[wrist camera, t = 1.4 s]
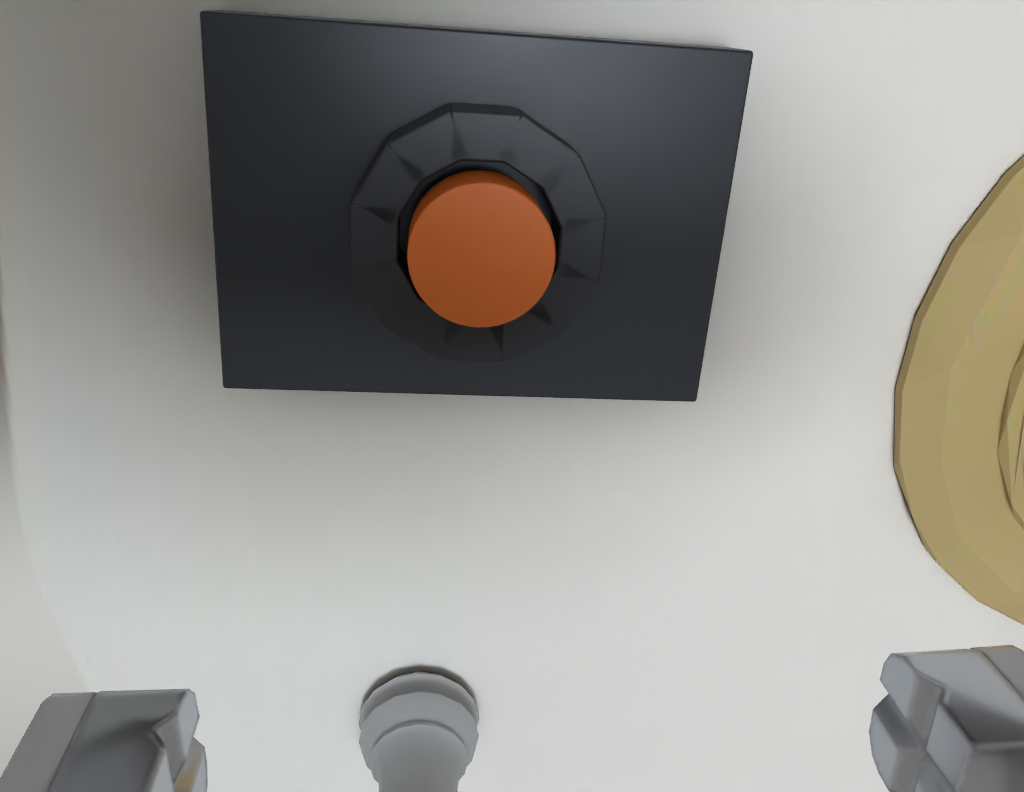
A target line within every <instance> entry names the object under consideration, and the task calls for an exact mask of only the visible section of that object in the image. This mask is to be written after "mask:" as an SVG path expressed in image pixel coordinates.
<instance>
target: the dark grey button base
mask: <svg viewBox="0 0 1024 792" xmlns="http://www.w3.org/2000/svg"><path fill="white" fill-rule="evenodd" d="M200 23H201V39H202V55H203V71H204V87H205V103H206V119H207V135H208V151H209V167H210V183H211V199H212V215H213V231H214V247H215V263H216V279H217V295H218V311H219V327H220V343H221V359H222V375H223V386H224V388H243V389H277V390H312V391H346V392H381V393H415V394H450V395H484V396H519V397H553V398H588V399H622V400H657V401H691V402H694V401H696V398H697V392H698V386H699V380H700V374H701V368H702V362H703V356H704V350H705V344H706V338H707V332H708V325H709V319H710V313H711V307H712V301H713V295H714V289H715V283H716V277H717V271H718V265H719V259H720V252H721V246H722V240H723V234H724V228H725V222H726V216H727V210H728V204H729V198H730V192H731V186H732V179H733V173H734V167H735V161H736V155H737V149H738V143H739V137H740V131H741V125H742V119H743V113H744V106H745V100H746V94H747V88H748V82H749V76H750V70H751V64H752V58H753V52H752V51H750V50H742V49H735V48H728V47H715V46H701V45H688V44H674V43H661V42H647V41H633V40H620V39H606V38H592V37H579V36H565V35H552V34H538V33H524V32H511V31H497V30H483V29H470V28H456V27H443V26H429V25H415V24H402V23H388V22H375V21H361V20H347V19H334V18H320V17H306V16H293V15H279V14H266V13H252V12H238V11H225V10H206V11H201V12H200ZM471 170H485V171H492V172H496V173H500V174H503V175H505V176H508V177H510V178H511V179H513V180H515V181H517V182H518V183H519V184H521V185H522V186H523V187H525V188H526V190H527V191H528V192H529V193H530V194H531V195H532V196H533V197H534V199H535V200H536V201H537V203H538V205H539V207H540V209H541V210H542V212H543V214H544V216H545V217H546V219H547V221H548V223H549V225H550V228H551V230H552V233H553V237H554V241H555V250H556V257H555V266H554V271H553V275H552V278H551V280H550V283H549V285H548V287H547V289H546V291H545V292H544V294H543V295H542V297H541V298H540V299H539V300H538V302H537V303H536V304H535V305H534V306H533V307H532V308H531V309H530V310H528V311H527V312H526V313H524V314H523V315H521V316H520V317H518V318H516V319H514V320H512V321H510V322H507V323H505V324H501V325H498V326H492V327H469V326H464V325H460V324H457V323H454V322H452V321H449V320H447V319H445V318H444V317H442V316H440V315H439V314H437V313H436V312H435V311H433V310H432V309H431V308H430V307H429V306H428V305H427V304H426V303H425V302H424V301H423V299H422V298H421V297H420V295H419V294H418V292H417V291H416V289H415V286H414V284H413V282H412V280H411V276H410V273H409V268H408V262H407V249H408V236H409V227H410V223H411V219H412V216H413V213H414V211H415V209H416V207H417V205H418V203H419V202H420V200H421V199H422V198H423V196H424V195H425V194H426V193H427V192H428V191H429V190H430V189H431V188H432V187H433V186H434V185H436V184H437V183H438V182H440V181H442V180H443V179H445V178H447V177H449V176H451V175H454V174H457V173H460V172H464V171H471Z"/></svg>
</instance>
